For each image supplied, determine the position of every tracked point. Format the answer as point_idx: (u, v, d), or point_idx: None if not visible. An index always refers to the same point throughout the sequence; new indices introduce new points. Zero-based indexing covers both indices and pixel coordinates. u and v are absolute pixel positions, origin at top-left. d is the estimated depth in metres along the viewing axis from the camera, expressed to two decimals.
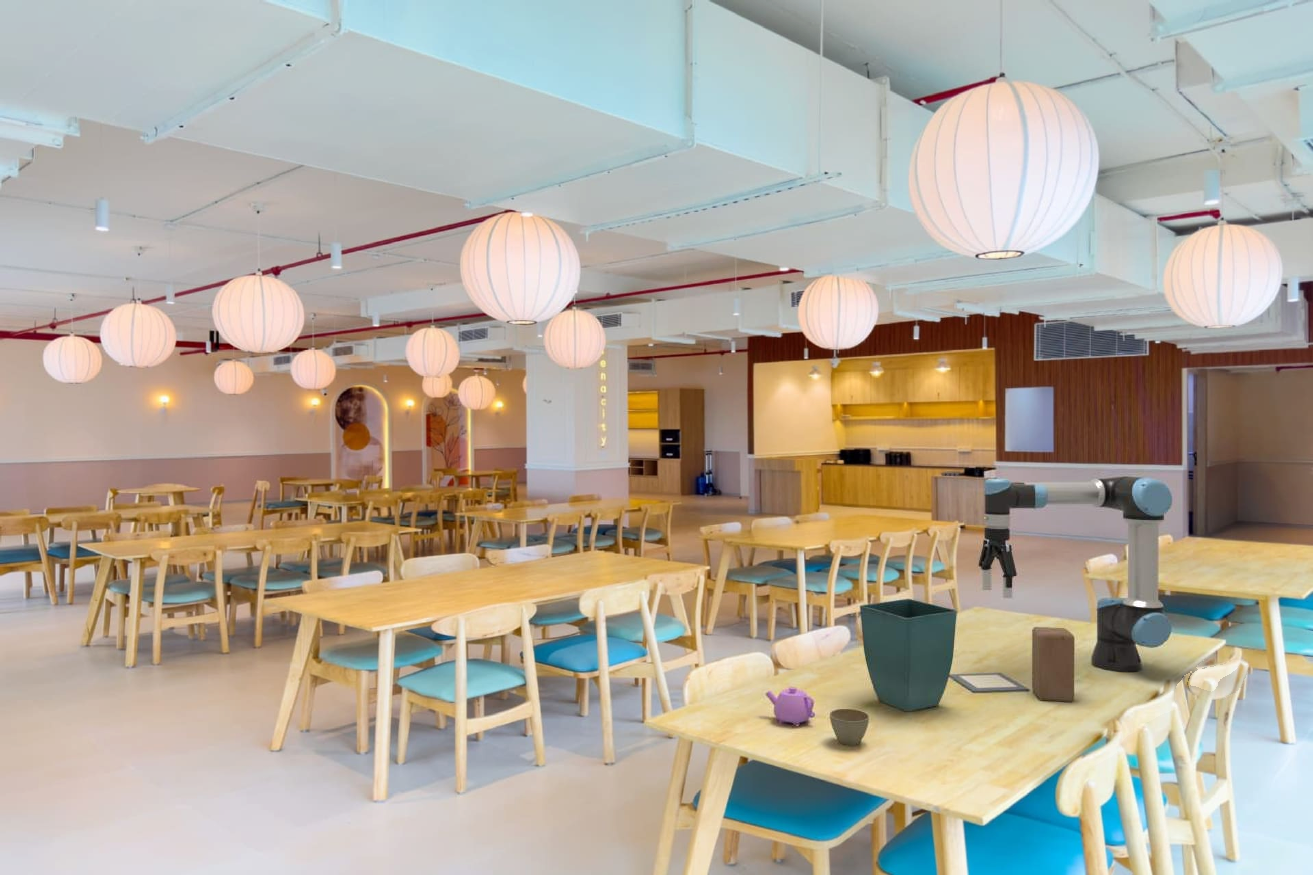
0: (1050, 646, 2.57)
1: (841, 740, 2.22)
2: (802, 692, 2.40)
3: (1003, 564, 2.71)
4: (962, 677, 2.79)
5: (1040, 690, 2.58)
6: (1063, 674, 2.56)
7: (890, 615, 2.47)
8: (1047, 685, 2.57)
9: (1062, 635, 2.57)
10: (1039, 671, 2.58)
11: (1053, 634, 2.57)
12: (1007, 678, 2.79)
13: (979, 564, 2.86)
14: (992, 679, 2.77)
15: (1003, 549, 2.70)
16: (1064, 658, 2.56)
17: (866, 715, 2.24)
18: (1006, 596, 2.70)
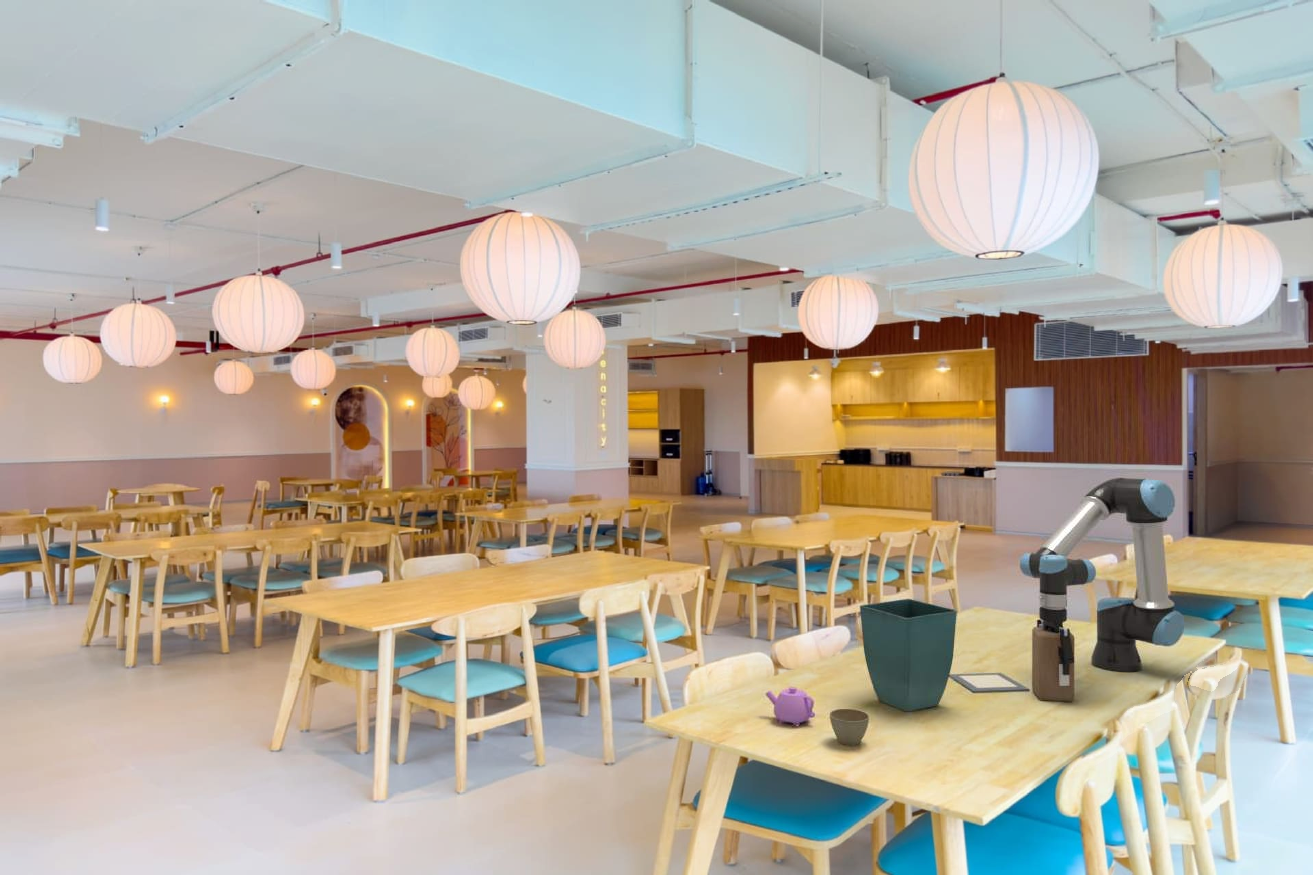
0: (1050, 646, 2.57)
1: (841, 740, 2.22)
2: (802, 692, 2.40)
3: (1060, 649, 2.56)
4: (962, 677, 2.79)
5: (1040, 690, 2.58)
6: None
7: (890, 615, 2.47)
8: (1047, 685, 2.57)
9: None
10: (1039, 671, 2.58)
11: (1053, 634, 2.57)
12: (1007, 678, 2.79)
13: None
14: (992, 679, 2.77)
15: (1061, 633, 2.55)
16: None
17: (866, 715, 2.24)
18: (1063, 683, 2.55)
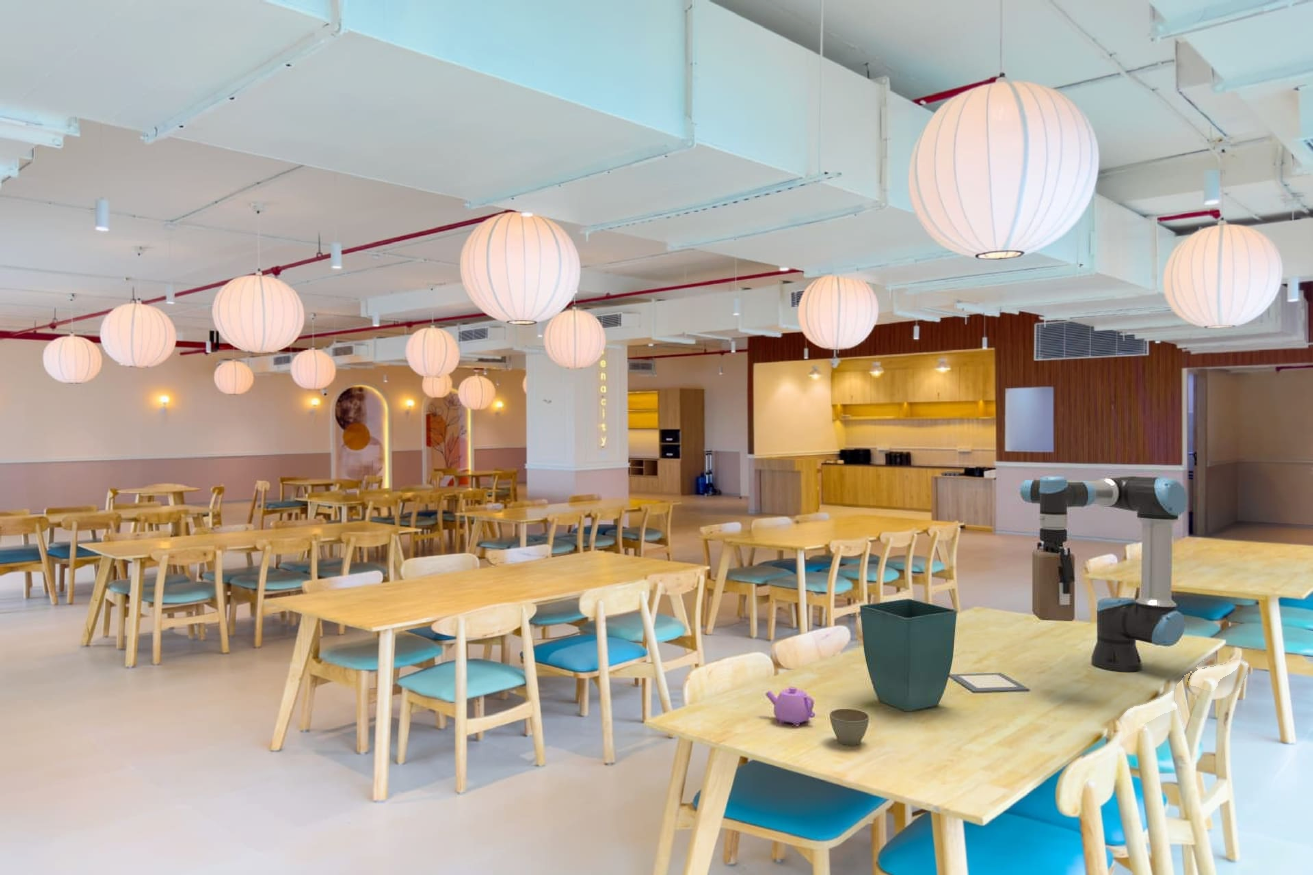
0: (1050, 566, 2.57)
1: (841, 740, 2.22)
2: (802, 692, 2.40)
3: (1060, 568, 2.56)
4: (962, 677, 2.79)
5: (1040, 610, 2.58)
6: None
7: (890, 615, 2.47)
8: (1047, 605, 2.57)
9: None
10: (1039, 591, 2.58)
11: (1053, 554, 2.57)
12: (1007, 678, 2.79)
13: None
14: (992, 679, 2.77)
15: (1061, 552, 2.55)
16: None
17: (866, 715, 2.24)
18: (1063, 603, 2.55)
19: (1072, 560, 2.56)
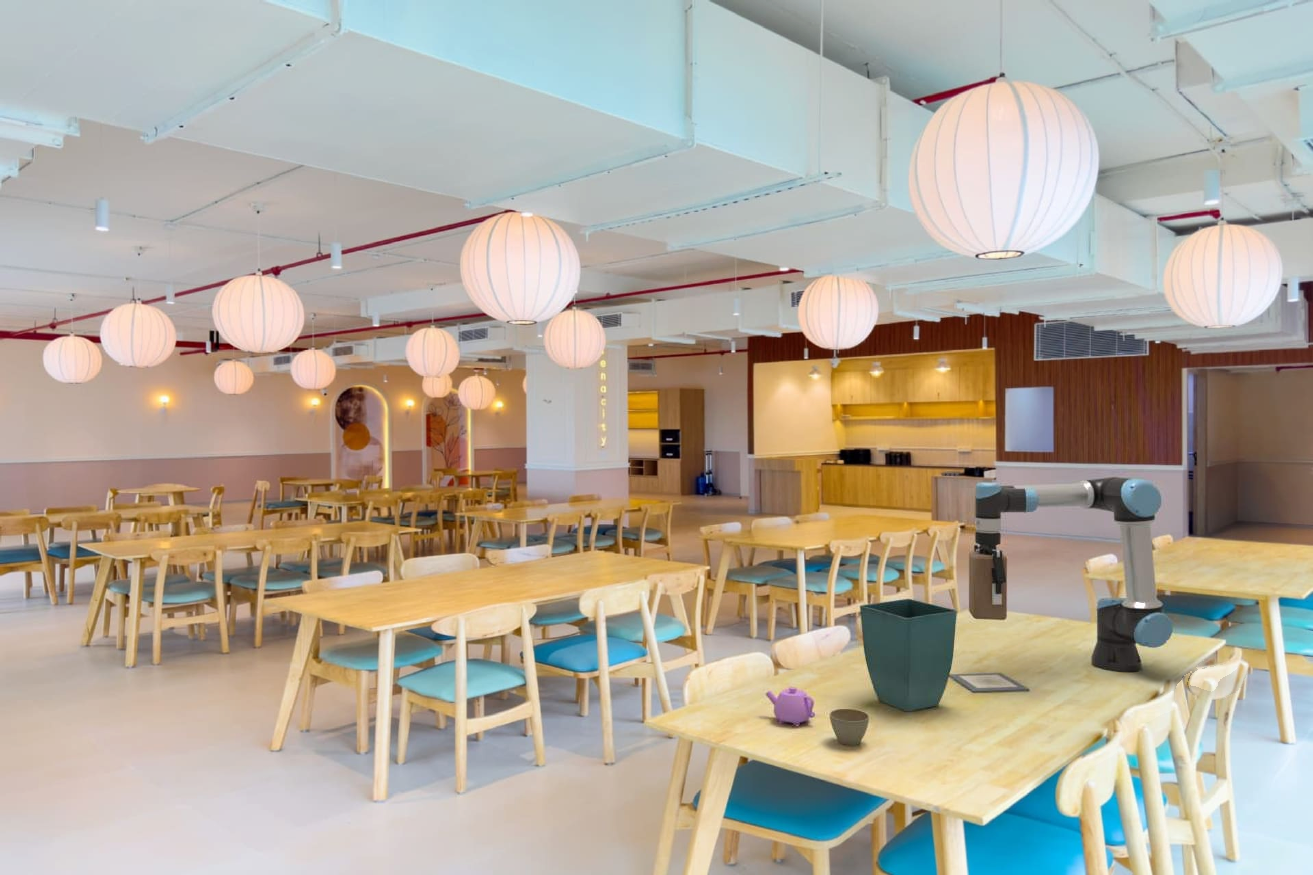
0: (984, 567, 2.70)
1: (841, 740, 2.22)
2: (802, 692, 2.40)
3: (993, 570, 2.69)
4: (962, 677, 2.79)
5: (974, 609, 2.71)
6: None
7: (890, 615, 2.47)
8: (981, 604, 2.71)
9: None
10: (974, 591, 2.72)
11: (987, 556, 2.71)
12: (1007, 678, 2.79)
13: None
14: (992, 679, 2.77)
15: (994, 554, 2.68)
16: None
17: (866, 715, 2.24)
18: (995, 602, 2.69)
19: (1004, 562, 2.69)
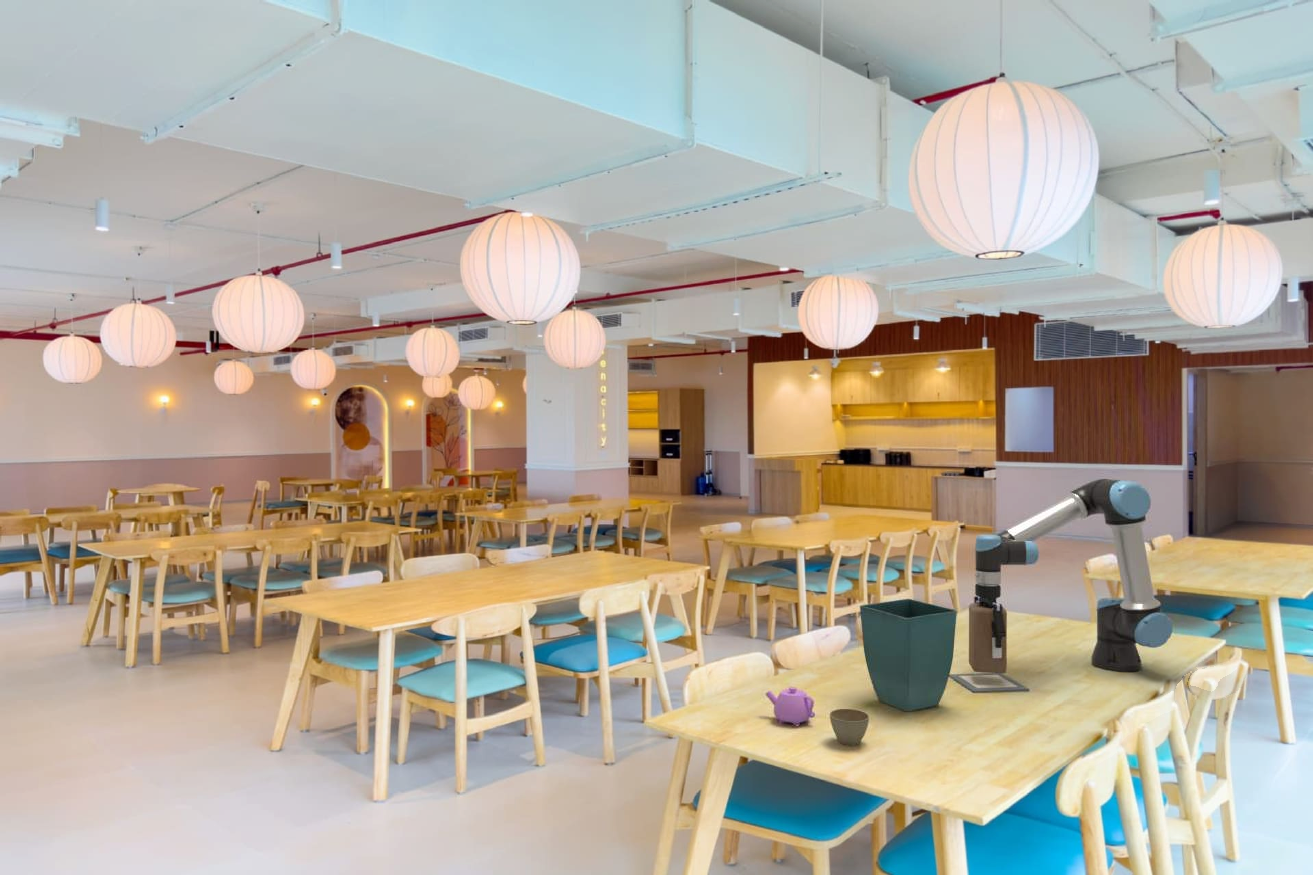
0: (984, 621, 2.71)
1: (841, 740, 2.22)
2: (802, 692, 2.40)
3: (993, 623, 2.70)
4: (962, 677, 2.79)
5: (974, 662, 2.71)
6: None
7: (890, 615, 2.47)
8: (981, 658, 2.71)
9: None
10: (973, 644, 2.72)
11: (987, 609, 2.71)
12: (1007, 678, 2.79)
13: None
14: (992, 679, 2.77)
15: (994, 608, 2.69)
16: None
17: (866, 715, 2.24)
18: (995, 656, 2.69)
19: (1004, 615, 2.69)
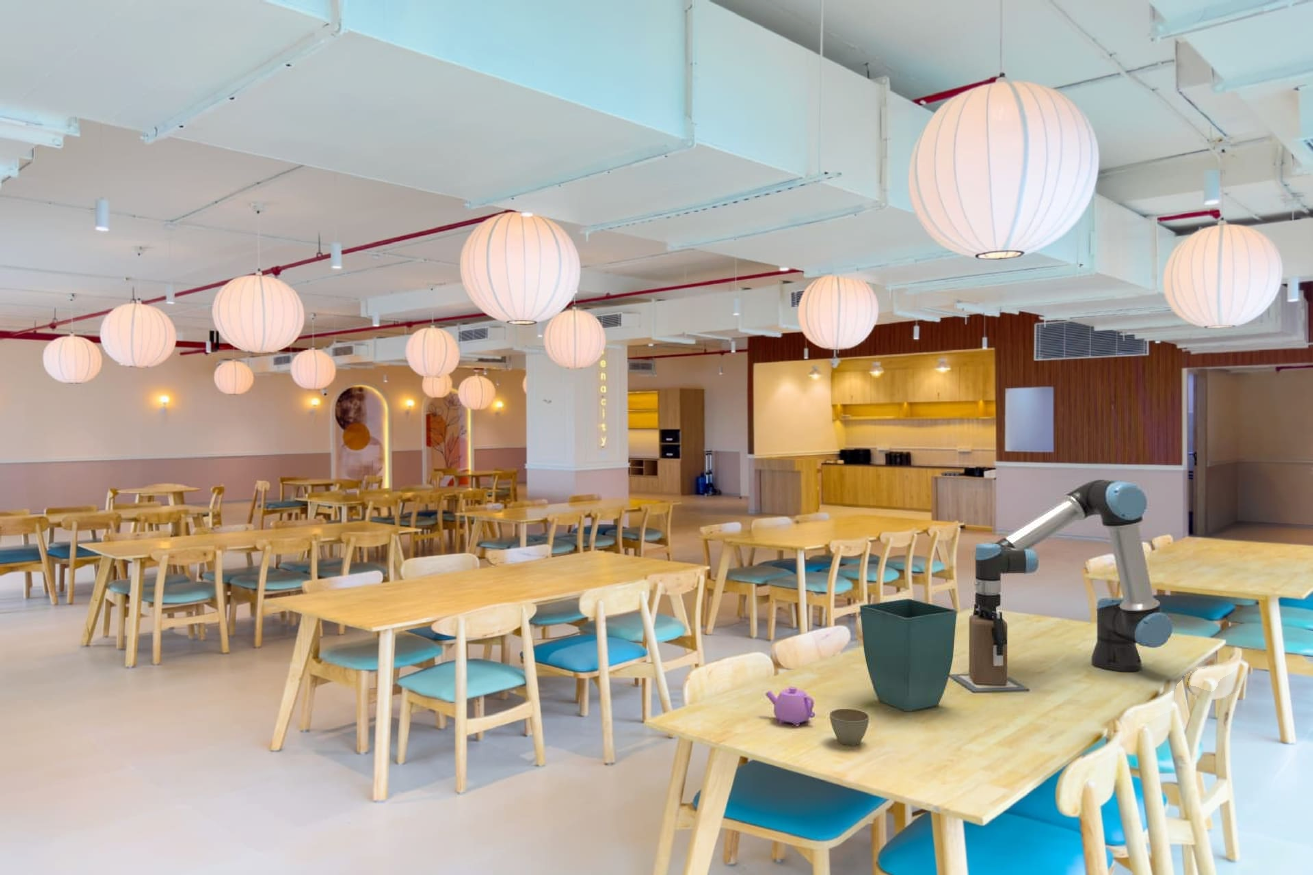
0: (984, 633, 2.70)
1: (841, 740, 2.22)
2: (802, 692, 2.40)
3: (994, 631, 2.69)
4: (962, 677, 2.79)
5: (975, 675, 2.71)
6: None
7: (890, 615, 2.47)
8: (981, 670, 2.71)
9: None
10: (974, 657, 2.72)
11: (987, 621, 2.71)
12: (1007, 678, 2.79)
13: None
14: None
15: (994, 616, 2.69)
16: None
17: (866, 715, 2.24)
18: (997, 664, 2.68)
19: (1005, 628, 2.69)
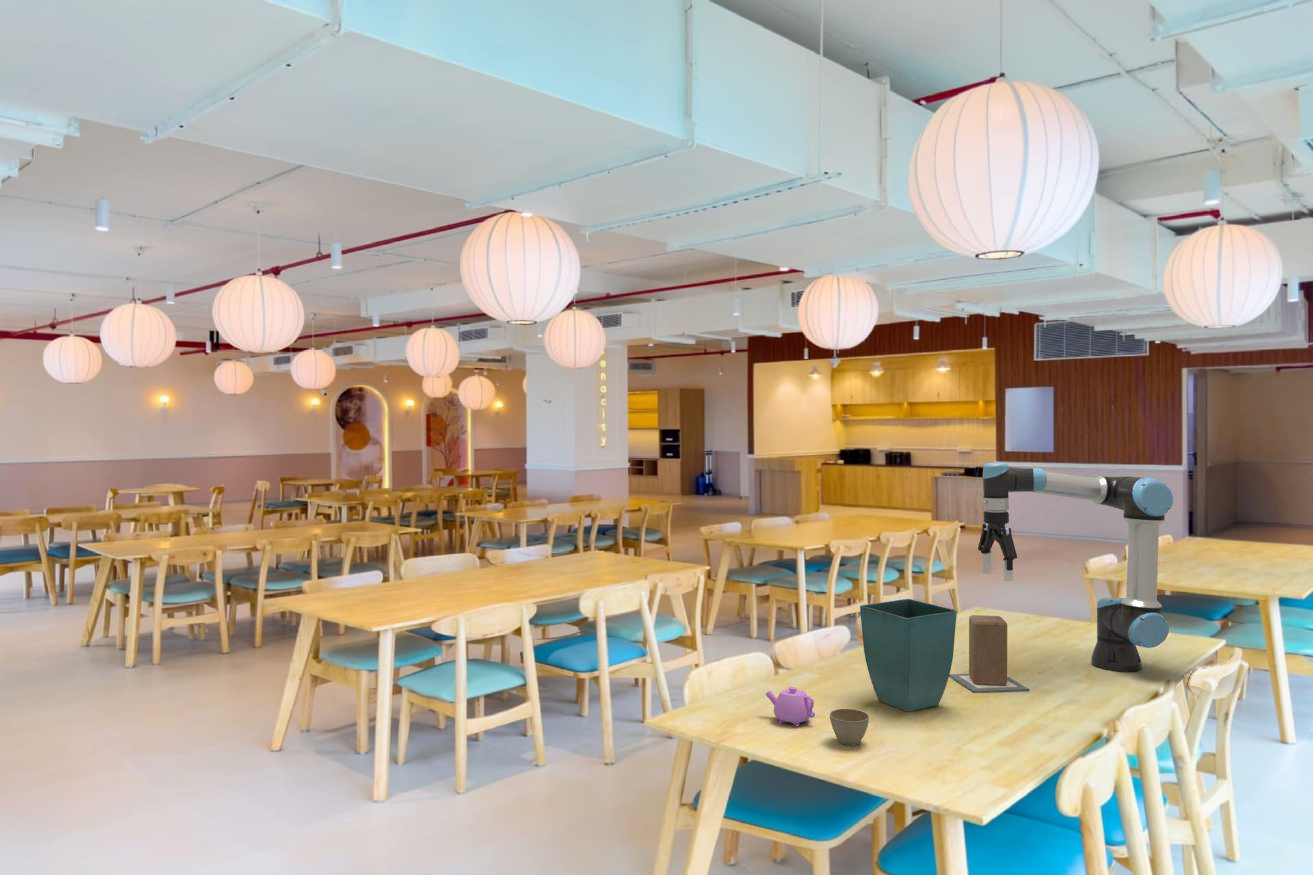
0: (984, 633, 2.70)
1: (841, 740, 2.22)
2: (802, 692, 2.40)
3: (1003, 547, 2.74)
4: (962, 677, 2.79)
5: (975, 675, 2.71)
6: (996, 659, 2.70)
7: (890, 615, 2.47)
8: (981, 670, 2.71)
9: (996, 622, 2.70)
10: (974, 657, 2.72)
11: (987, 621, 2.71)
12: (1007, 678, 2.79)
13: (979, 548, 2.89)
14: None
15: (1003, 532, 2.73)
16: (998, 644, 2.70)
17: (866, 715, 2.24)
18: (1007, 579, 2.73)
19: (1005, 628, 2.69)
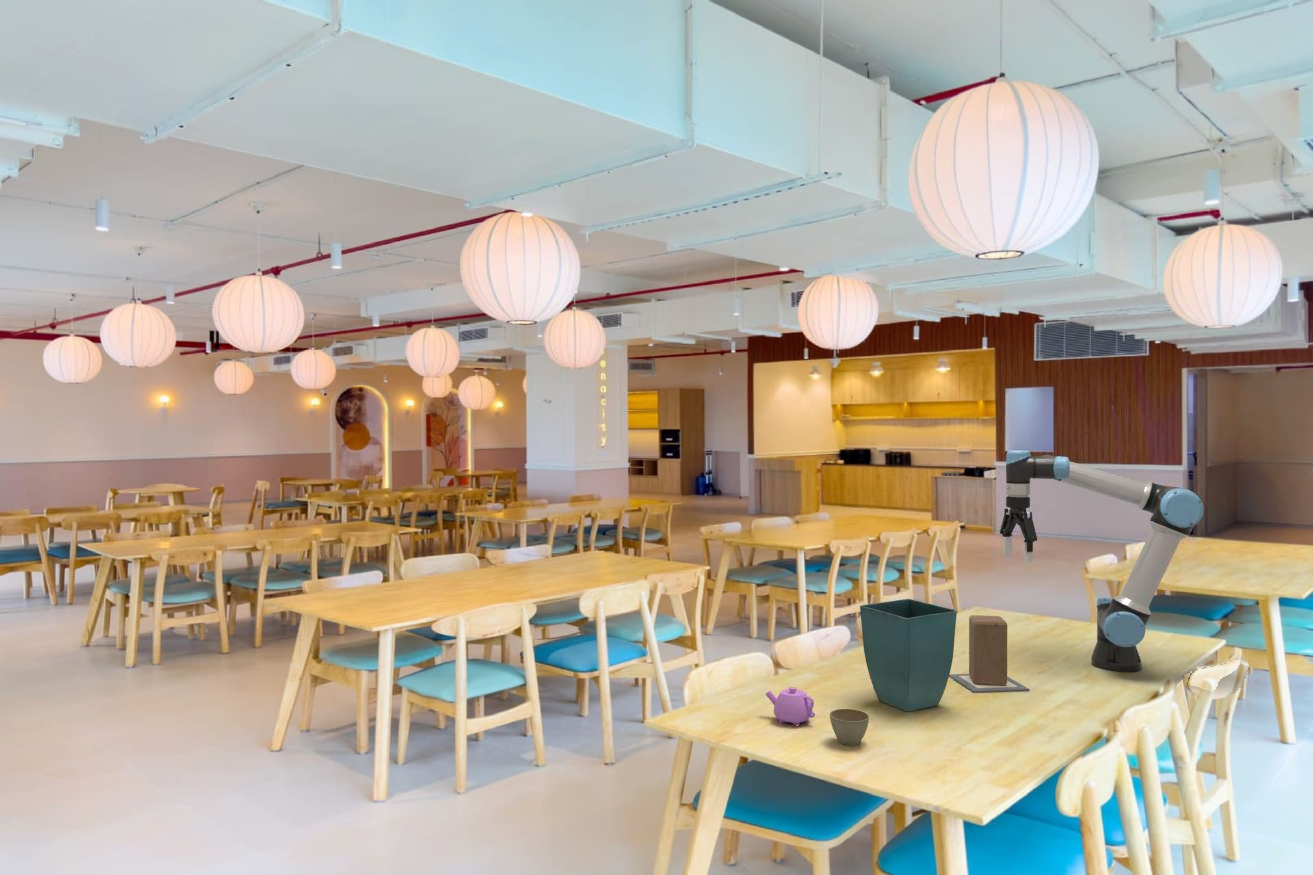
0: (984, 633, 2.70)
1: (841, 740, 2.22)
2: (802, 692, 2.40)
3: (1024, 530, 2.88)
4: (962, 677, 2.79)
5: (975, 675, 2.71)
6: (996, 659, 2.70)
7: (890, 615, 2.47)
8: (981, 670, 2.71)
9: (996, 622, 2.70)
10: (974, 657, 2.72)
11: (987, 621, 2.71)
12: (1007, 678, 2.79)
13: (1000, 532, 3.03)
14: None
15: (1024, 516, 2.87)
16: (998, 644, 2.70)
17: (866, 715, 2.24)
18: (1027, 560, 2.86)
19: (1005, 628, 2.69)
